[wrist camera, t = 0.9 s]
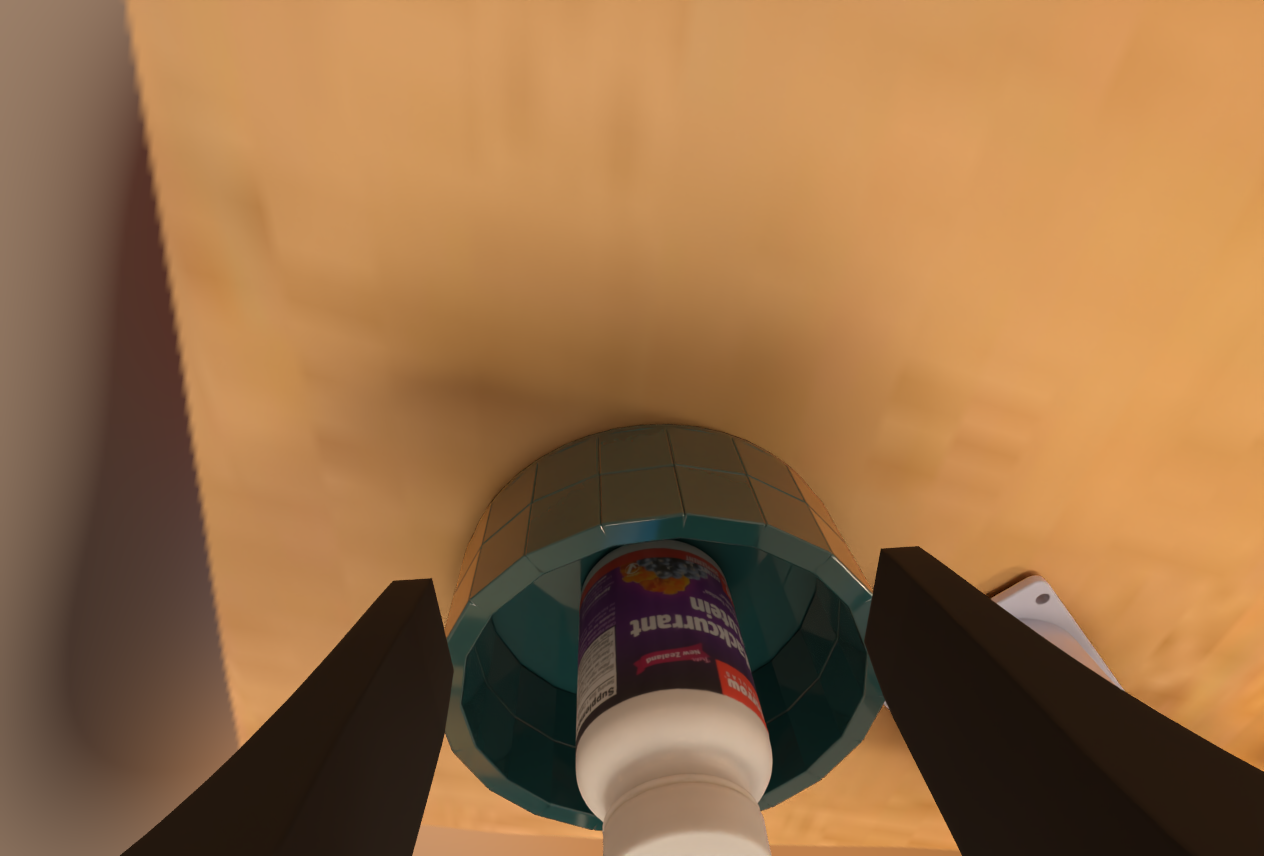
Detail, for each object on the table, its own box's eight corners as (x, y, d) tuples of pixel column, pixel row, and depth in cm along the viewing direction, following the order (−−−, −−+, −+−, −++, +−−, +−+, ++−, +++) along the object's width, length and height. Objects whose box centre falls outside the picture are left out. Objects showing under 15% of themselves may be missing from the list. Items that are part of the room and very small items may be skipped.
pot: (891, 456, 21) (969, 551, 17) (772, 723, 28) (806, 843, 23) (483, 393, 20) (452, 481, 15) (452, 695, 26) (423, 821, 21)
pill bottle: (753, 559, 23) (851, 842, 14) (686, 659, 25) (736, 957, 16) (614, 513, 22) (630, 794, 13) (557, 623, 24) (538, 926, 15)
